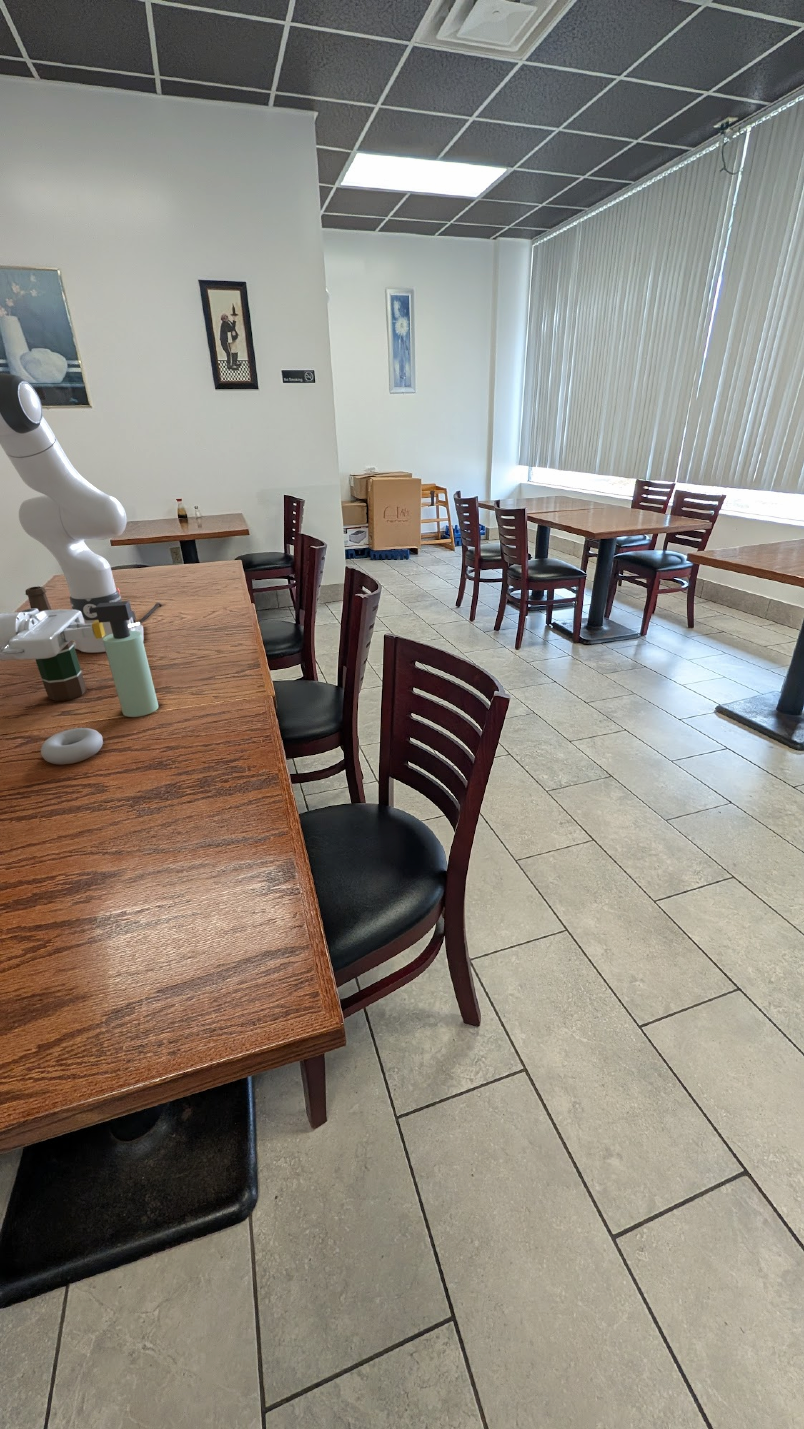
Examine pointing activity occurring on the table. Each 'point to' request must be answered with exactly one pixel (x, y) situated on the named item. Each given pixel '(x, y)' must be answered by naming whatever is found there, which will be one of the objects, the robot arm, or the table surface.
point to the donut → (71, 746)
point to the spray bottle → (127, 660)
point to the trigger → (98, 629)
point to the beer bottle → (58, 660)
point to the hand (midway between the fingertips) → (95, 629)
